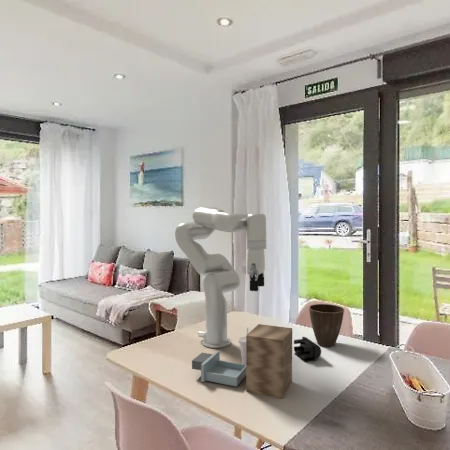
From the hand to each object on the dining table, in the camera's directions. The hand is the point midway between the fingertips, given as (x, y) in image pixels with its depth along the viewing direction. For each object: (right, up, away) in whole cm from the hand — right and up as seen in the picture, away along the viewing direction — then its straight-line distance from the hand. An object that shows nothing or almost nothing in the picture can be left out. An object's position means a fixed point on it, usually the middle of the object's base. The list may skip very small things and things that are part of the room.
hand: (257, 288), depth 148 cm
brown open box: (+2, -29, -21) cm, 36 cm away
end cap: (+20, -29, +4) cm, 35 cm away
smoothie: (-4, -29, -3) cm, 29 cm away
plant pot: (+32, -28, +18) cm, 46 cm away
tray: (-15, -29, -14) cm, 35 cm away
